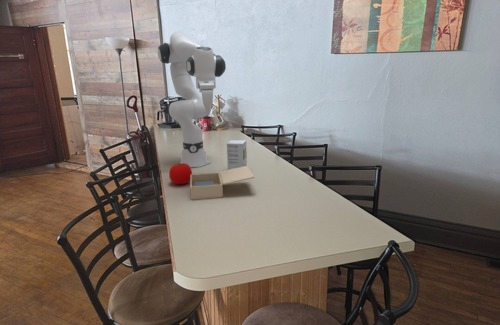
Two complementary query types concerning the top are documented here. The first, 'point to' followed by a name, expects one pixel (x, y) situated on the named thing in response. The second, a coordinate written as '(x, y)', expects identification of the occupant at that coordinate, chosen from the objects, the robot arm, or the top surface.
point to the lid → (236, 175)
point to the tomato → (180, 173)
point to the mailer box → (206, 186)
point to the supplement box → (236, 154)
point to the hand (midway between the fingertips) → (207, 114)
